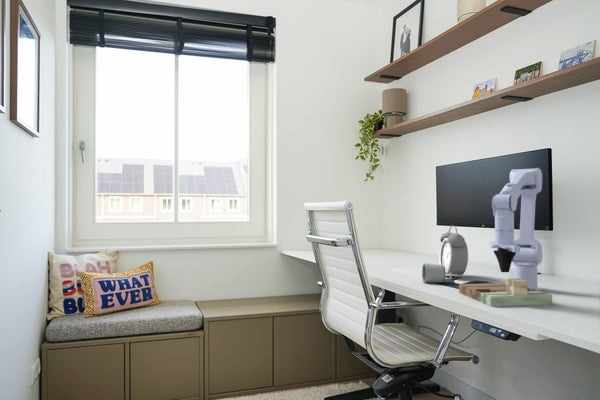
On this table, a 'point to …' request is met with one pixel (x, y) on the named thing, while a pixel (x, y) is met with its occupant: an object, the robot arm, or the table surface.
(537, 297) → the trap deck
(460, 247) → the alarm clock
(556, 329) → the table surface
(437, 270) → the ceramic mug
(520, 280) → the birch block
